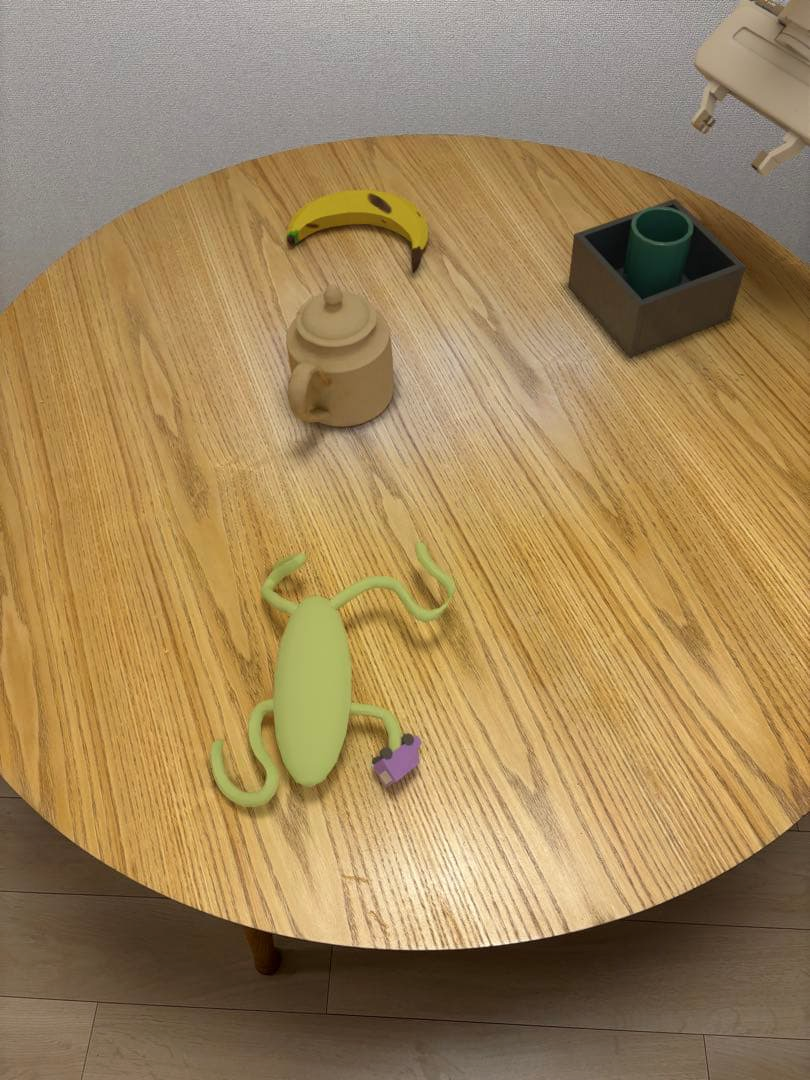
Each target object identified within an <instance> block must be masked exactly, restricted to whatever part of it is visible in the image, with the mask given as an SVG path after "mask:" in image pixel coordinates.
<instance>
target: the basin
mask: <svg viewBox="0 0 810 1080" xmlns="http://www.w3.org/2000/svg"><path fill="white" fill-rule="evenodd" d="M658 206H661V207H670V208H673V209H676V210H679V211H681V212H683V213H684V214H685V215H687V216H688V217H689V218H690V220H691V222H692V224H693V233H692V237H691V242H690V246H689V250H688V255H687V259H686V263H685V267H684V272H683V276H682V280H681V284H680V286H677V287H674V288H672V289H669V290H666V291H664V292H661V293H658V294H655V295H653V296H650V297H647V298H645V299H641V298H640V297H639V296H638V295H637V293H636V292H635V291H634V290H633V289H632V288H631V287H630V286H629V285H628V284H627V283H626V281H625V280H624V279H623V278H622V276H623V270H624V264H625V258H626V253H627V247H628V241H629V235H630V229H631V224H632V219H633V217H634V216H635V215H636V214H637V213H638V212H640V211H642V210H643V209H641V210H639V211H636V212H633V213H631V214H630V213H629V214H627V215H625V216H622V217H619V218H616V219H613V220H611V221H608V222H605V223H602V224H598V225H597V226H593V227H590V228H586V229H585V230H582V231H578V232H575V233H574V234H573V241H572V250H571V259H570V266H569V276H568V283H567V284H568V285H567V286H568V288H569V289H570V290H571V291H572V292H573V293H574V295H575V296H576V297H577V298H578V300H580V302H581V303H582V304H583V305H584V306H585V307H586V309H587V310H588V311H589V312H590V313H591V315H592V316H593V317H594V318H595V319H596V320H597V322H599V324H600V325H601V326H602V327H603V329H604V330H606V332H607V333H608V334H609V335H610V337H611V338H612V339H613V340H614V341H615V342H616V344H617V345H618V346H619V347H620V348H621V350H623V351H624V353H625V354H626V355H627V356H628V357H629V358H632V357H635V356H637V355H640V354H643V353H645V352H647V351H650V350H654V349H655V348H658V347H661V346H664V345H666V344H669V343H671V342H674V341H676V340H679V339H681V338H684V337H687V336H690V335H692V334H695V333H697V332H699V331H702V330H705V329H707V328H710V327H712V326H715V325H718V324H720V323H723V322H726V321H728V320H731V318H732V314H733V311H734V308H735V304H736V300H737V298H738V295H739V294H738V293H739V291H740V287H741V284H742V280H743V277H744V274H745V271H746V268H747V267H746V265H745V264H744V263H743V262H742V261H741V260H740V259H738V257H737V256H736V255H735V254H734V253H733V252H731V250H729V249H728V248H727V247H726V246H725V245H724V244H723V243H722V242H721V241H720V240H719V239H718V238H717V237H716V236H715V235H714V234H713V233H712V232H710V230H708V228H706V226H705V225H703V224H702V223H701V222H700V221H699V220H698V219H697V217H695V216H694V215H693V214H692V213H691V212H690V211H688V209H687V208H686V207H684V205H683V204H681V202H680V201H678V199H676V198H673V199H670V200H668V201H665V202H662V203H661V202H660V203H659V204H656V205H653V206H652V207H658Z"/></svg>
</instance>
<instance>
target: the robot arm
mask: <svg viewBox="0 0 810 1080" xmlns="http://www.w3.org/2000/svg"><path fill="white" fill-rule="evenodd" d="M693 66H694V68H695V69H696V70H697V71H698V72H699V74H701V76H702V77H703V78H705V79H706V81H708V83H707V84H706V85H705V87H704V88H703V92H702V97H701V101H700V106H699V109H698V110H697V112H696V113H695V114H694V116H693V117H692V119H691V120H690V125H691V126H692V127H693V128H694V129H695V130H696V131H699V132H700V133H701V134H703V135H706V134H707V133H709V131H710V128H712V127H713V126H714V125H715V124H716V122H717V120H716V119H715V118H714V117H713V115H714V112H715V108H716V105H717V102H720V103H722V102H723V101H724V100H725V98H726V97H727V96H728V94H729V95H730V96H732V97H733V98H734V99H736V100H738V101H739V102H741V103H742V104H743V105H745V106H747V107H748V108H750V109H751V110H753V111H754V112H756V113H758V114H759V115H761V117H763V118H765V119H767V120H768V121H769V122H771V123H773V124H774V125H775V126H777V127H779V128H780V129H781V130H783V131H785V132H786V134H784V136H783V138H782V141H783V142H784V143H783V144H781V145H780V146H777V147H775V148H774V149H772V150H771V151H769V152H766V151H764V149H763V150H762V149H761V150H760V152H759V153H758V154H757V157H756V158H754V159H753V160H752V162H751V164H750V166H751V168H752V169H753V170H754V171H756V172H757V173H758V174H760V175H761V176H762V177H764V178H766V177H768V176H769V175H770V174H771V173H772V172H773V171H774V169H775V168H776V167H777V166H778V165H780V164H782V163H785V162H787V161H789V160H790V159H793V158H795V157H797V156H799V155H800V153H802V152H803V150H804V149H805V148H806V147H809V148H810V0H789V1H788V3H787V4H786V5H785V6H784V5H782V4H780V3H778V2H776V1H773V0H741V1H740V2H739V3H738V4H737V5H736V6H735V8H734V9H733V11H731V13H730V14H728V16H726V18H724V19H723V20H722V22H721V23H719V25H718V26H717V27H715V29H714V30H713V31H712V32H711V33H710V34H709V36H707V38H706V39H705V40H704V41H703V42H702V43H701V45H700V46H699V47H698V49H697V50H696V52H695V53H694V59H693Z"/></svg>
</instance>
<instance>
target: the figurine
mask: <svg viewBox="0 0 810 1080" xmlns="http://www.w3.org/2000/svg"><path fill="white" fill-rule="evenodd" d="M414 551H415V555H416V558H417V561H418V562H419V563H420V565H421V567H423V568H424V569H425V571H426V572H427V573H428V574H429V575H430V576H431V577H433V578H434V579H435V580H436V581H437V582H439V584H441V586H442V587H443V588H444V589H445V591H446V595H447V599H446V600H445V602H444V603H443V604H442V605H441V606H439V607H437V608H434V609H430V610H429V609H426V608H423V607H421V606H420V605H419V604H418V603H417V602H416V601H415V600H414V599H413V596H412V594H411V593H410V592H409V590H408V589H407V587H406V586H405V584H403V583H402V582H401V581H400V580H399V579H398V578H396V577H391V576H387V575H375V574H373V575H371V576H367V577H364V578H362V579H360V580H357V581H356V582H354V583H352V584H351V585H349V586H347V587H346V588H345V589H342V590H341V591H340V592H338V593H337V594H335V595H334V596H333V597H332V598H330V599H329V598H328V597H325V596H321V595H319V594H312V595H310V596H307V597H306V598H303V599H302V600H301V601H300V603H299V604H298V603H296V602H295V601H291V600H289V599H285V598H283V597H282V596H281V595H280V594H278V593H277V592H275V591H274V590H275V589H276V587H277V586H278V584H279V583H280V582H281V581H282V580H283V579H284V578H286V576H288V575H290V574H292V573H293V572H295V571H297V570H299V569H301V568H302V567H303V566H304V565H305V564H307V561H308V558H307V555H306V554H303V553H300V552H299V553H297V552H296V553H293V554H289V555H287V556H285V557H282V558H281V559H280V560H277V562H275V564H274V565H273V566H272V568H271V571H272V572H270V574H268V576H267V577H266V579H265V580H264V582H263V583H262V585H261V587H260V596H261V597H262V598H263V599H264V600H265V601H266V602H267V603H268V604H270V606H271V607H273V608H274V609H276V610H277V611H279V612H282V613H285V614H287V615H290V616H289V619H288V621H287V623H286V626H285V629H284V631H283V633H282V637H281V639H280V642H279V646H278V647H279V648H278V652H277V658H276V662H275V667H274V675H273V697H272V698H267V699H262V700H261V701H260V702H259V703H258V704H257V705H255V706H254V708H252V710H251V713H250V715H249V716H248V717H249V718H248V722H247V734H248V742H249V746H250V748H251V750H252V751H253V754H254V755H255V757H256V758H257V759H258V761H259V762H260V764H261V765H262V766H263V768H264V769H265V772H266V777H265V782H264V785H263V786H262V787H261V789H259V790H256V791H251V792H246V791H244V790H241V789H240V788H239V787H237V786H236V785H234V783H233V782H232V781H231V779H230V777H229V774H228V773H227V771H226V767H225V763H224V759H223V758H224V757H223V748H224V742H225V739H223V738H219V739H216V740H214V741H213V742H212V743H211V745H210V751H209V762H210V768H212V769H211V773H212V776H213V779H214V781H215V784H216V785H217V787H218V789H219V790H220V792H221V793H222V794H223V795H224V797H225V798H227V799H228V800H229V801H231V802H233V803H234V804H235V805H238V806H240V805H241V806H240V807H242V808H243V807H244V808H251V807H253V808H254V807H258V806H261V805H263V804H267V803H269V802H270V801H271V799H273V797H274V796H275V795H276V793H277V789H278V785H279V782H280V775H279V771H278V768H277V766H276V764H275V763H274V761H273V759H272V758H271V756H270V754H269V752H268V751H267V749H266V747H265V745H264V741H263V735H262V722H263V719H264V718H265V716H266V715H267V714H269V713H271V712H273V721H274V731H275V738H276V743H277V746H278V749H279V753H280V756H281V759H282V762H283V765H284V767H285V769H286V770H287V772H288V773H289V775H290V776H291V778H292V779H293V780H294V782H295V783H297V784H300V785H302V786H304V787H307V788H312V787H314V786H316V785H318V784H320V783H323V782H324V781H325V780H326V778H327V777H328V776H329V774H330V772H331V771H332V769H333V768H334V766H335V765H336V763H338V759H339V756H340V754H341V751H342V748H343V745H344V742H345V739H346V736H347V732H348V725H349V718H350V716H358V717H359V716H360V717H361V716H363V717H372V718H375V719H379V720H380V721H381V722H382V724H383V725H384V727H385V729H386V732H387V735H388V737H387V738H388V745H387V747H383V748H381V749H380V750H379V755H376V756H375V757H373V758H372V760H371V765H370V768H371V769H372V770H373V771H374V773H375V774H376V775H377V777H378V778H379V779H380V781H381V782H382V784H383V785H384V787H385V788H387V787H389V786H392V785H393V784H395V783H397V782H398V781H399V780H400V779H403V777H405V776H406V775H407V774H408V773H409V772H410V771H412V770H413V769H414V768H416V767H417V766H418V765H419V764H420V762H421V761H420V756H419V755H420V754H419V751H418V749H420V747H421V745H422V743H423V742H422V741H421V739H420V737H419V735H418V734H417V735H415V736H414V735H413V734H411V733H410V732H408V733H404V734H403V735H402V728H401V726H400V723H399V720H398V719H397V717H396V716H395V715H394V713H393V712H392V710H390V709H387V708H385V707H382V706H380V705H376V704H375V705H374V704H370V703H358V702H353V701H352V676H353V673H352V671H353V670H352V661H351V660H352V659H351V654H350V646H349V640H348V635H347V632H346V629H345V626H344V624H343V620H342V618H341V616H340V612H339V611H338V610H340V609H341V608H342V607H343V606H345V605H346V604H348V603H349V602H351V601H353V600H354V599H355V598H357V597H358V596H360V595H363V593H365V592H369V591H370V590H373V589H382V590H383V589H384V590H389V591H392V592H393V593H395V595H396V596H398V598H399V600H400V601H401V603H402V604H403V606H404V607H405V609H406V610H407V612H408V613H409V614H410V615H411V616H412V617H413V618H414V619H415V620H416V621H419V622H422V623H430V622H432V621H436V620H437V619H438V618H439V617H441V616H442V615H443V613H444V612H445V611H446V609H447V607H448V605H449V603H450V602H451V600H452V598H453V596H454V594H455V592H456V583H455V579H454V578H453V577H452V576H451V575H450V574H449V573H448V572H446V571H445V570H443V569H442V568H441V567H440V566H439V565H438V564H437V563H436V562H435V561H434V560H433V559H432V557H431V556H430V553H429V550H428V546H427V544H426V542H423V541H417V542H414ZM214 775H215V776H214ZM215 777H216V778H215ZM223 791H224V792H223Z"/></svg>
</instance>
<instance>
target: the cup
mask: <svg viewBox="0 0 810 1080" xmlns="http://www.w3.org/2000/svg"><path fill="white" fill-rule="evenodd" d="M641 210H642V211H641ZM641 210H639V211H640V212H639V211H637V212H638V213H637V214H636V215H635V216H634V217H633V219H632V224H631V229H630V235H629V241H628V247H627V253H626V258H625V264H624V270H623V276H622V278H623V279H624V280H625V281H626V283H627V284H628V285H629V286H630V287H631V288H632V289H633V290H634V291H635V292H636V293H637V295H638V296H639V297H640V298H641V299H645V298H647V297H650V296H653V295H655V294H658V293H661V292H664V291H666V290H669V289H672V288H674V287H677V286H680V284H681V280H682V276H683V272H684V267H685V263H686V259H687V255H688V250H689V246H690V242H691V237H692V233H693V224H692V222H691V220H690V218H689V217H688V216H687V215H685V214H684V213H683V212H681V211H679V210H676V209H673V208H670V207H661V206H658V207H653V206H650V207H647V208H643V209H641Z"/></svg>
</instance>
